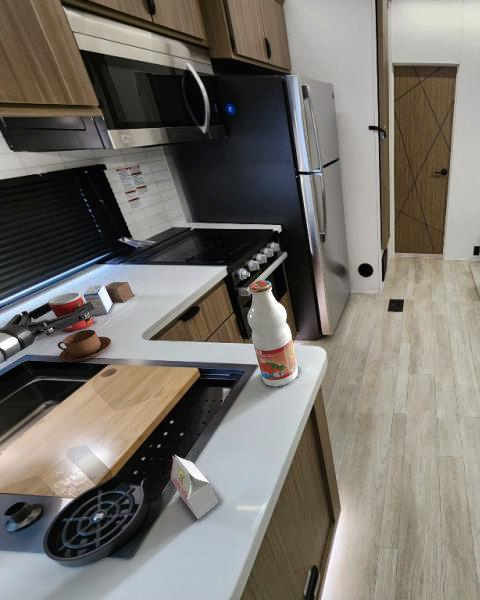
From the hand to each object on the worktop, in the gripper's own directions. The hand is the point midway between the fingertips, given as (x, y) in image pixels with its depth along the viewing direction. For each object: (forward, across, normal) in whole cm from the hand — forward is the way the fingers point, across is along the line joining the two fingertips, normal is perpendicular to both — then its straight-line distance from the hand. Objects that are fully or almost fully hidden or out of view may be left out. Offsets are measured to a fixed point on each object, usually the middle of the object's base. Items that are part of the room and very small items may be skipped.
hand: (71, 305), depth 112 cm
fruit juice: (-29, +78, -8) cm, 84 cm away
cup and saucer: (-17, +16, -8) cm, 25 cm away
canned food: (-1, 0, -8) cm, 8 cm away
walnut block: (+19, 0, -8) cm, 20 cm away
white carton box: (-63, +73, -8) cm, 97 cm away
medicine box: (+10, 0, -8) cm, 13 cm away
